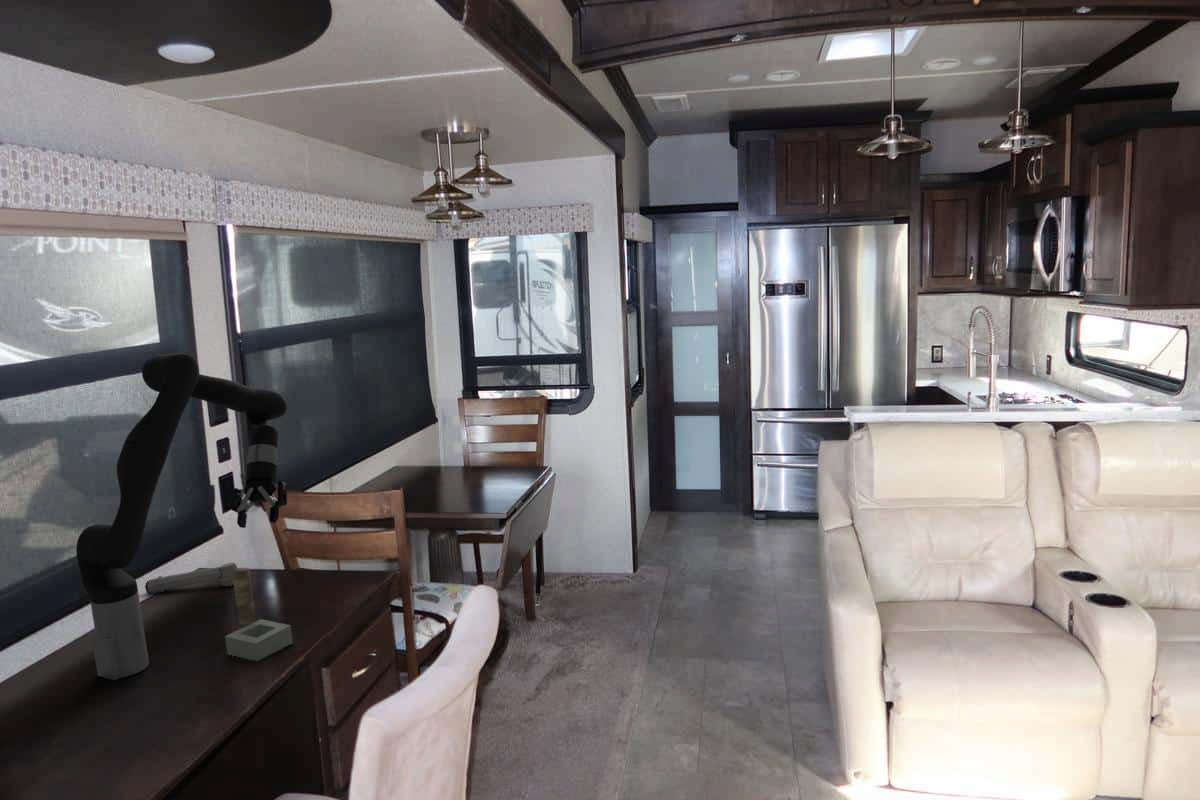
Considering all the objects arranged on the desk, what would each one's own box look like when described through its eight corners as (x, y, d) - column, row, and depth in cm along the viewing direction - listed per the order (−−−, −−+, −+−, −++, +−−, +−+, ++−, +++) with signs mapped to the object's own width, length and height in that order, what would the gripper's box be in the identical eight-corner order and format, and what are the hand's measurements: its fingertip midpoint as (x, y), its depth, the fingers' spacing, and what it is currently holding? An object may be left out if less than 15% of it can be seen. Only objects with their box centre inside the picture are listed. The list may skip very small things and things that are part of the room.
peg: (247, 638, 204) (239, 574, 201) (236, 635, 206) (228, 572, 203) (260, 631, 207) (252, 568, 205) (250, 629, 209) (241, 566, 206)
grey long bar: (149, 576, 240) (240, 555, 243) (156, 598, 241) (246, 577, 244) (142, 583, 235) (235, 561, 238) (149, 605, 236) (241, 584, 239)
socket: (257, 662, 191) (255, 643, 190) (227, 654, 195) (224, 636, 195) (292, 643, 199) (290, 625, 198) (263, 636, 204) (260, 619, 203)
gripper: (228, 464, 222) (223, 525, 215) (279, 456, 220) (275, 517, 213) (245, 473, 229) (240, 532, 222) (294, 465, 227) (291, 524, 220)
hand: (257, 524), depth 218 cm, fingers open, 8 cm apart
